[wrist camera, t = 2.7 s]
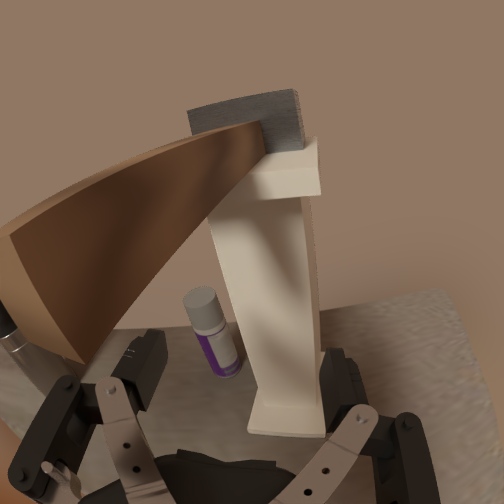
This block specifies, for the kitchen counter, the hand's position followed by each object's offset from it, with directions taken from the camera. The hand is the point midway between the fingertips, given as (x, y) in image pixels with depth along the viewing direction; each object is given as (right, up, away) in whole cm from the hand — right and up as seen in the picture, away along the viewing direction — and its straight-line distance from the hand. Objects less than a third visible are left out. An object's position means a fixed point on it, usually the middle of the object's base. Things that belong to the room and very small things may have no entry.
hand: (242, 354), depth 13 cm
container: (-4, -14, +29) cm, 33 cm away
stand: (+6, -15, +22) cm, 28 cm away
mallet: (-1, +9, +1) cm, 9 cm away
